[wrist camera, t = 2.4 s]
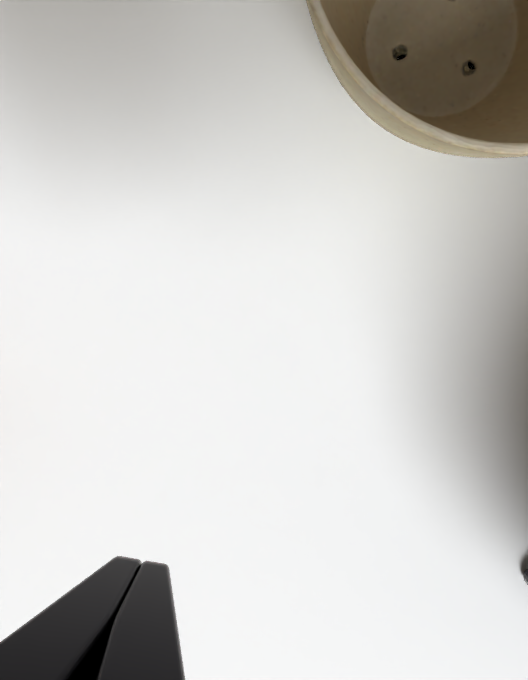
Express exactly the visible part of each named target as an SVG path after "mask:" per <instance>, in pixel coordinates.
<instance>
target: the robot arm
mask: <svg viewBox="0 0 528 680" xmlns="http://www.w3.org/2000/svg"><path fill="white" fill-rule="evenodd" d="M524 580H525V582H526V583H527V585H528V569H527V570H526V571H525V573H524ZM0 680H185V676H184V669H183V662H182V655H181V648H180V641H179V634H178V627H177V620H176V613H175V607H174V600H173V593H172V586H171V579H170V572H169V567H168V566H167V565H166V564H163V563H157V562H151V561H145V562H143V563H141V561H140V560H139V559H134V558H128V557H122V556H117V557H115V558H113V559H112V560H111V561H109V562H108V563H107V564H105V565H104V566H102V567H101V568H100V569H98V570H97V571H96V572H94V573H93V574H92V575H90V576H89V577H88V578H86V579H85V580H84V581H82V582H81V583H80V584H78V585H77V586H75V587H74V588H73V589H71V590H70V591H69V592H67V593H66V594H65V595H63V596H62V597H61V598H59V599H58V600H57V601H55V602H54V603H53V604H51V605H50V606H49V607H47V608H46V609H44V610H43V611H42V612H40V613H39V614H38V615H36V616H35V617H34V618H32V619H31V620H30V621H28V622H27V623H26V624H24V625H23V626H22V627H20V628H19V629H17V630H16V631H15V632H13V633H12V634H11V635H9V636H8V637H7V638H5V639H4V640H3V641H1V642H0Z"/></svg>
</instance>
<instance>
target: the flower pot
mask: <svg viewBox="0 0 528 680" xmlns="http://www.w3.org/2000/svg"><path fill="white" fill-rule="evenodd" d="M306 1H307V5H308V9H309V12H310V16H311V19H312V22H313V25H314V28H315V30H316V33H317V36H318V39H319V41H320V44H321V46H322V49H323V51H324V53H325V55H326V57H327V60H328V62H329V64H330V66H331V67H332V69H333V71H334V73H335V74H336V76H337V78H338V80H339V81H340V83H341V85H342V86H343V87H344V89H345V90H346V91H347V93H348V94H349V96H350V97H351V98H352V100H353V101H354V102H355V103H356V104H357V105H358V106H359V107H360V108H361V109H362V111H363V112H364V113H365V114H366V115H367V116H368V117H370V118H371V119H372V120H373V121H374V122H376V123H377V124H378V125H380V126H381V127H382V128H384V129H385V130H387V131H388V132H390V133H392V134H393V135H395V136H397V137H399V138H401V139H403V140H405V141H406V142H409V143H412V144H414V145H417V146H419V147H422V148H425V149H429V150H432V151H436V152H441V153H445V154H451V155H457V156H467V157H480V158H504V157H521V156H528V0H306ZM400 55H404V56H405V57H404V58H403V59H401V60H397V57H398V56H400ZM468 62H471V63H472V64H474V67H475V69H470V68H469V67H468Z"/></svg>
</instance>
